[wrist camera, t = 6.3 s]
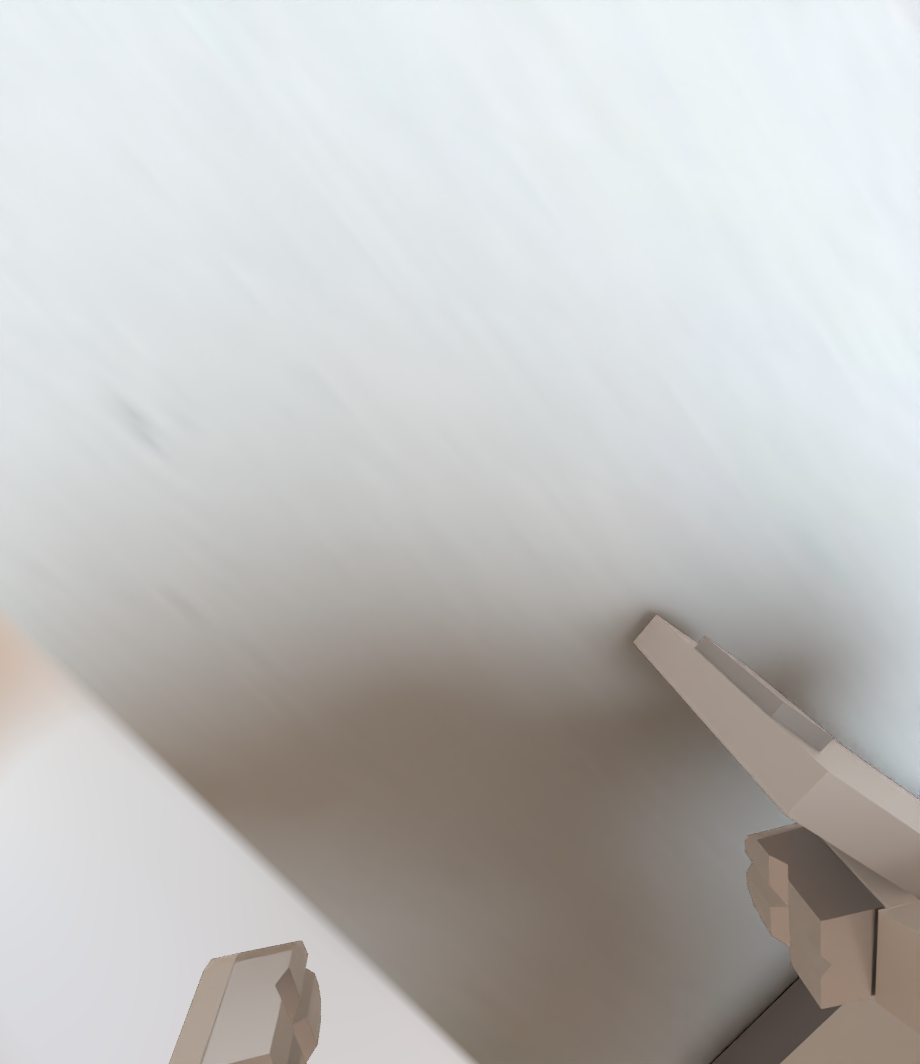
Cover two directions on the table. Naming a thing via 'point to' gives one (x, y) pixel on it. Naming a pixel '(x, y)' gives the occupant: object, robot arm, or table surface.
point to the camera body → (823, 1034)
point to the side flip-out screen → (792, 756)
